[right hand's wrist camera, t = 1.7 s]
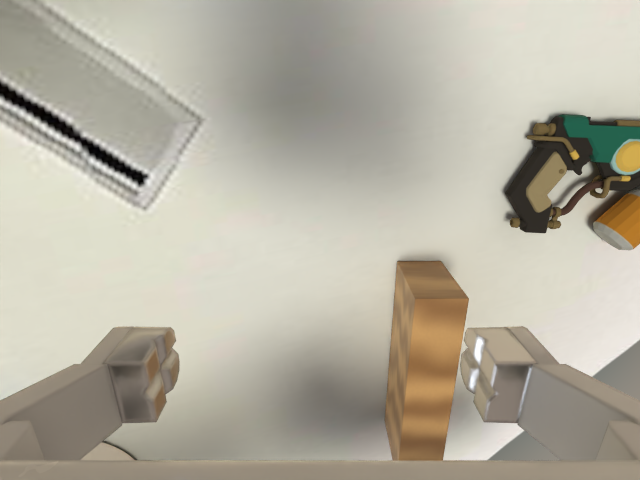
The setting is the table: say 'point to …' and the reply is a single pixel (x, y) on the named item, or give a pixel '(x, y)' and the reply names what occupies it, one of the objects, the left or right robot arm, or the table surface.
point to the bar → (423, 359)
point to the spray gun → (572, 154)
